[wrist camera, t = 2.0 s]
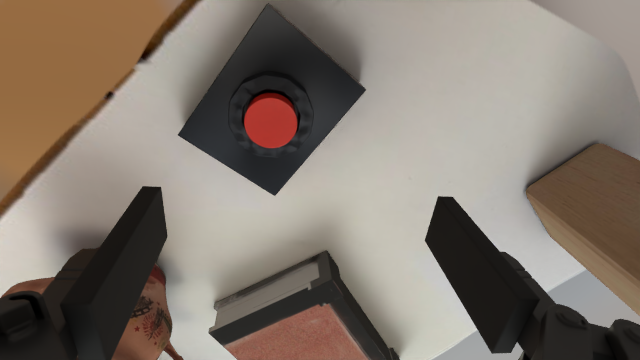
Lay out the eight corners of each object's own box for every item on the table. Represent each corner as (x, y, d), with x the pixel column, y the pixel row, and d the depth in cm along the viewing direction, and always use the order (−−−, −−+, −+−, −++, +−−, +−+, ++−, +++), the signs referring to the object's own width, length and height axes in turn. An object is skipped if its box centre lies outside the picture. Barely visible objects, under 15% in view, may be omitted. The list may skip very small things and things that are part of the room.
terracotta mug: (233, 289, 45) (217, 399, 33) (177, 339, 48) (144, 456, 36) (83, 203, 37) (-13, 307, 25) (28, 270, 40) (-81, 391, 28)
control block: (268, 2, 30) (266, 4, 26) (360, 83, 34) (371, 94, 30) (184, 125, 34) (172, 142, 30) (275, 183, 38) (274, 205, 34)
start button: (265, 81, 29) (264, 86, 27) (306, 113, 31) (307, 119, 29) (235, 121, 30) (233, 128, 29) (276, 149, 32) (276, 157, 30)
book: (210, 305, 46) (202, 338, 41) (326, 250, 43) (332, 279, 39) (304, 397, 58) (306, 430, 54) (399, 358, 56) (409, 389, 51)
